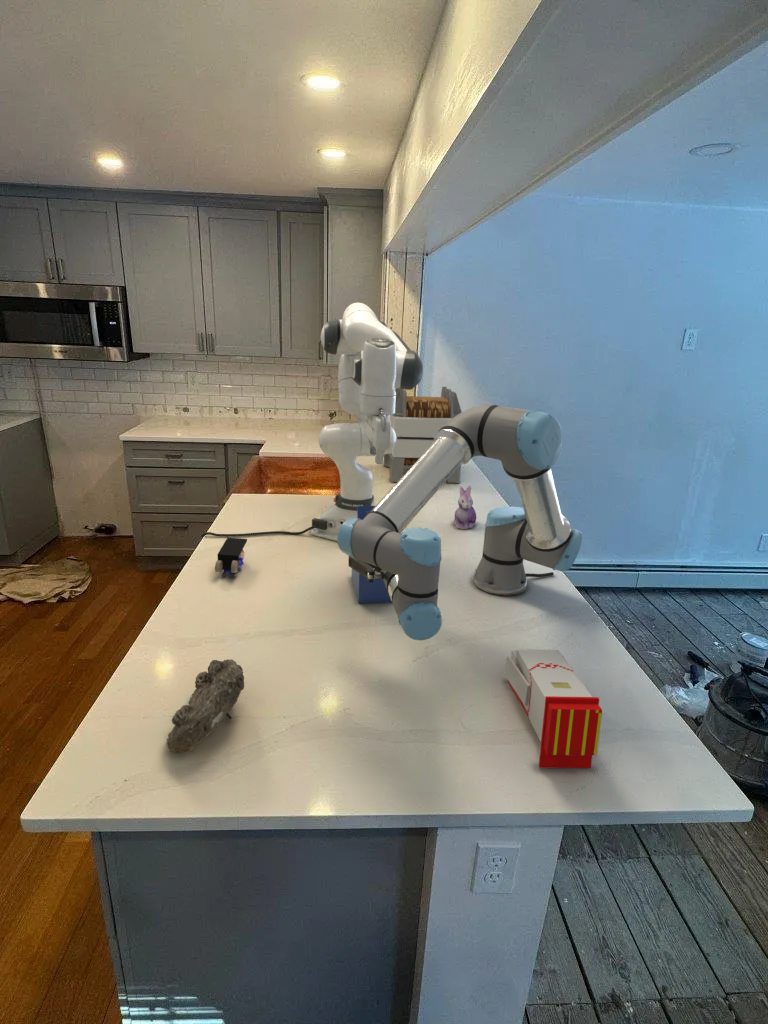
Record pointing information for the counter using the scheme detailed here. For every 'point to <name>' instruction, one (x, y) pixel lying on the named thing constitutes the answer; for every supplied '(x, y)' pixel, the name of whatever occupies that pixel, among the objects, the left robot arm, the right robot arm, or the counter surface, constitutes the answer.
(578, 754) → the toy
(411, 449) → the transformer
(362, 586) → the chest
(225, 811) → the counter surface
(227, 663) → the fossil
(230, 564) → the figurine character
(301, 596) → the counter surface
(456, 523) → the figurine
